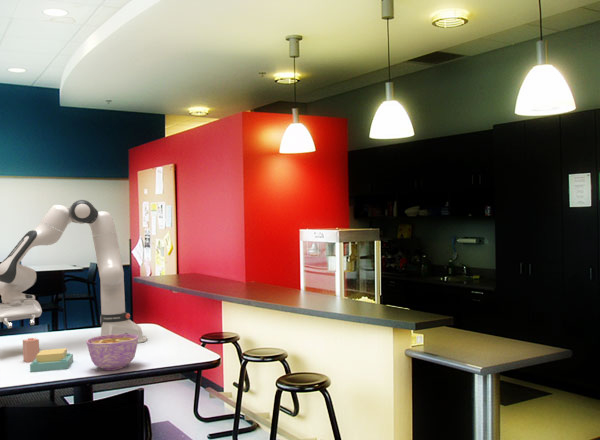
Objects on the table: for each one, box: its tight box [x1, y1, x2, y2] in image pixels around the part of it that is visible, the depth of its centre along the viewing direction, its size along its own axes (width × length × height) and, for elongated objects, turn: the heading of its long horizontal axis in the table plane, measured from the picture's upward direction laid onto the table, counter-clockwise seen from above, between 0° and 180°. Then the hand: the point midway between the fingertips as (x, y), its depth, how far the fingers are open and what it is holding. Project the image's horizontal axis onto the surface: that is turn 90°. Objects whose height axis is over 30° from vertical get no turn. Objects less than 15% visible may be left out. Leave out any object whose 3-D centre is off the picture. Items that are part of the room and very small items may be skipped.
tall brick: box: [22, 337, 40, 363], centre depth 256 cm, size 5×5×10 cm
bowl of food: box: [86, 334, 139, 371], centre depth 238 cm, size 20×20×12 cm
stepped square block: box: [29, 348, 74, 373], centre depth 244 cm, size 14×14×6 cm
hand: (21, 325), depth 265 cm, fingers open, 8 cm apart
